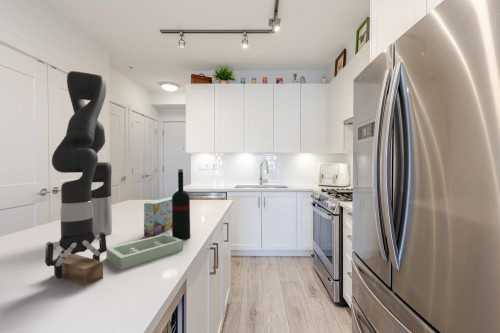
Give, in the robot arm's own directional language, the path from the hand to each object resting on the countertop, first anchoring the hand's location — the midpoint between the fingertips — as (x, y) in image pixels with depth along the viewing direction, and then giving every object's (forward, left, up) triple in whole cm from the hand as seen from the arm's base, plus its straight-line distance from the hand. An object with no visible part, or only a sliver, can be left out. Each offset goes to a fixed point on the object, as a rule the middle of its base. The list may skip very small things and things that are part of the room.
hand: (78, 272), depth 69 cm
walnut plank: (0, 0, -1) cm, 1 cm away
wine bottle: (-10, +40, -1) cm, 41 cm away
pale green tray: (-2, +21, -1) cm, 21 cm away
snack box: (-26, +40, -1) cm, 48 cm away
